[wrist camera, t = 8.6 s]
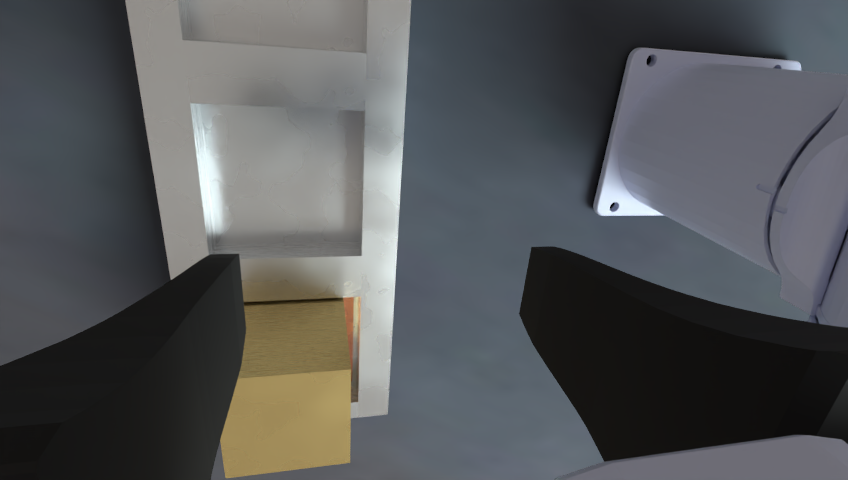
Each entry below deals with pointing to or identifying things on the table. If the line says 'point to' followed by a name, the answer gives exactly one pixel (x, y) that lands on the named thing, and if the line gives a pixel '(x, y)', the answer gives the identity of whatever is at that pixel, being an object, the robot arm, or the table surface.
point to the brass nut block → (290, 389)
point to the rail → (283, 151)
